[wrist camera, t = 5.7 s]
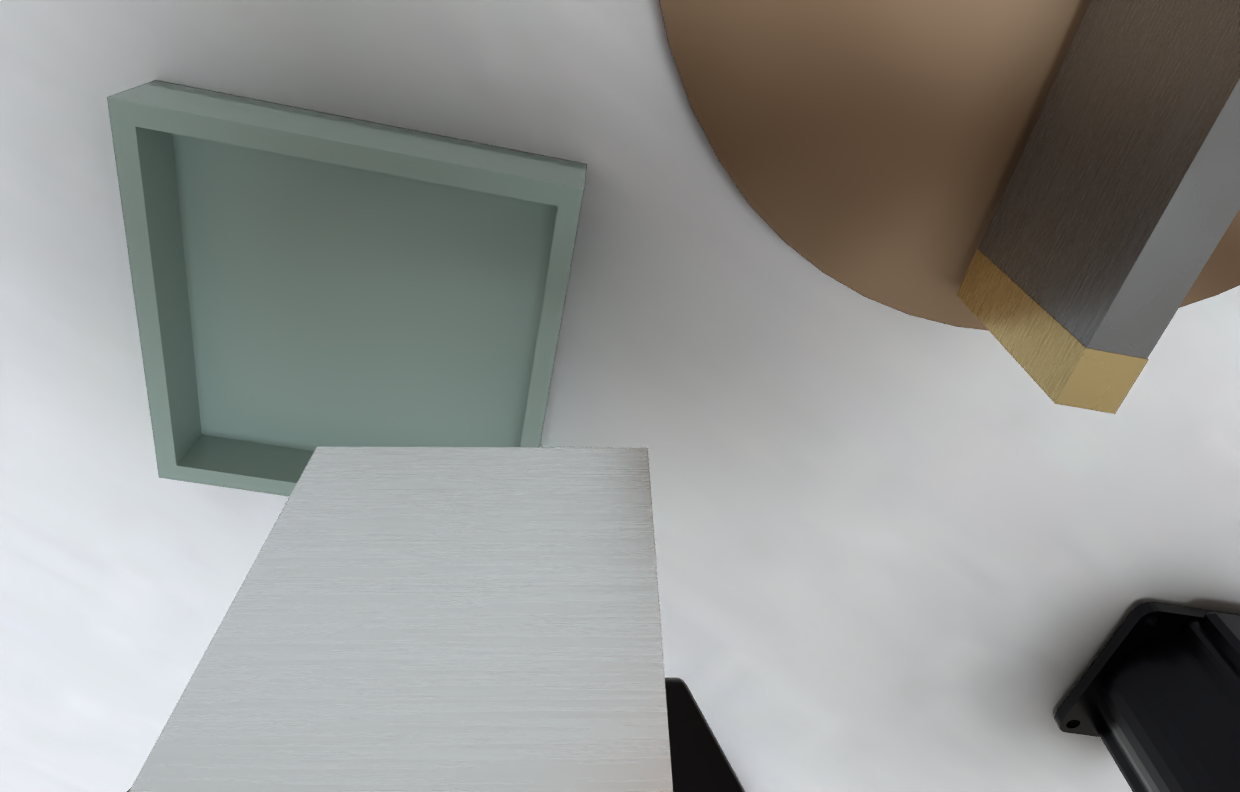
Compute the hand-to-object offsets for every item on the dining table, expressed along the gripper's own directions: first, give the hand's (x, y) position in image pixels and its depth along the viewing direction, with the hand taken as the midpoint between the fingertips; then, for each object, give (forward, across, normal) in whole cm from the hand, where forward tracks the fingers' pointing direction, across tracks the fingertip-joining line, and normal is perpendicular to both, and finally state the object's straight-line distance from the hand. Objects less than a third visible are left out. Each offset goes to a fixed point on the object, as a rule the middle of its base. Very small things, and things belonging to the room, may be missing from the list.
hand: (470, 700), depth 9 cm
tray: (+13, +5, +2) cm, 14 cm away
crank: (+12, -12, -5) cm, 17 cm away
